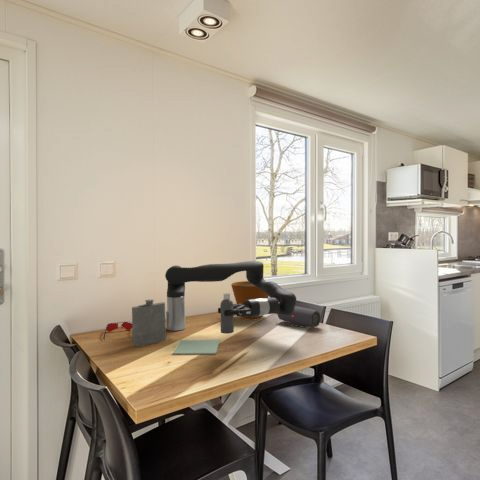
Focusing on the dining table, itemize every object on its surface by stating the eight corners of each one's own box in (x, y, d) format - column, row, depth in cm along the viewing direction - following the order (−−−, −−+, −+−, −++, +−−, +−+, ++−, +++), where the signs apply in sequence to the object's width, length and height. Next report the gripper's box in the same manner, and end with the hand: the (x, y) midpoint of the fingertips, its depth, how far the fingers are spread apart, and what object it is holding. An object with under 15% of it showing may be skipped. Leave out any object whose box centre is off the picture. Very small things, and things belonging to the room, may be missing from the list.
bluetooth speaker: (276, 323, 190) (276, 305, 190) (287, 320, 196) (287, 302, 196) (310, 331, 173) (310, 311, 173) (321, 327, 179) (321, 308, 179)
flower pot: (265, 323, 191) (264, 287, 191) (225, 320, 199) (225, 285, 199) (276, 313, 213) (275, 281, 213) (240, 311, 221) (239, 280, 221)
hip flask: (163, 338, 165) (162, 296, 165) (167, 340, 162) (166, 297, 162) (131, 345, 155) (130, 301, 155) (135, 347, 152) (134, 302, 152)
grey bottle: (220, 333, 141) (219, 294, 140) (221, 329, 146) (220, 292, 146) (233, 333, 140) (232, 294, 140) (234, 329, 146) (233, 292, 146)
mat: (172, 354, 142) (172, 353, 142) (181, 341, 160) (181, 340, 160) (215, 354, 142) (215, 352, 142) (219, 340, 160) (219, 339, 160)
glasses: (134, 329, 183) (133, 320, 183) (133, 338, 168) (133, 328, 167) (106, 332, 179) (105, 322, 179) (103, 341, 164) (102, 330, 163)
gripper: (248, 296, 156) (214, 300, 148) (265, 301, 143) (228, 306, 135) (248, 312, 156) (214, 317, 148) (265, 319, 144) (229, 325, 136)
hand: (221, 311), depth 142 cm, fingers closed on grey bottle, 5 cm apart
